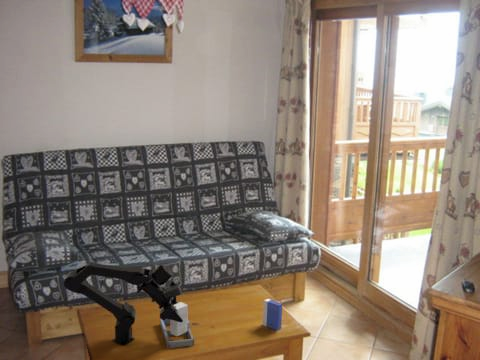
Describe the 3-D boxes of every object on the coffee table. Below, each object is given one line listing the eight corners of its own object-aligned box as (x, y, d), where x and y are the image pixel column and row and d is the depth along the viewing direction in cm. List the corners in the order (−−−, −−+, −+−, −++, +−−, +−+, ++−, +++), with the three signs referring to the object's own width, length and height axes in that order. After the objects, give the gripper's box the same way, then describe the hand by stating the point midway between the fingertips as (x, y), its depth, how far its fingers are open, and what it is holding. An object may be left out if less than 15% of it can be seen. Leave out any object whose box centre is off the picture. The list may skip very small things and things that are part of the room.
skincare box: (180, 328, 241) (180, 301, 238) (187, 331, 238) (188, 304, 236) (169, 333, 237) (169, 306, 234) (176, 337, 234) (177, 309, 231)
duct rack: (194, 345, 235) (194, 334, 234) (167, 348, 232) (167, 336, 231) (184, 321, 254) (184, 311, 253) (160, 324, 251) (160, 313, 250)
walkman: (281, 328, 252) (282, 302, 249) (277, 330, 249) (279, 304, 247) (265, 322, 256) (267, 297, 253) (262, 325, 254) (263, 299, 251)
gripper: (168, 288, 223) (197, 315, 226) (170, 269, 241) (196, 294, 244) (147, 307, 224) (176, 333, 227) (151, 287, 242) (177, 311, 245)
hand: (182, 317), depth 236 cm, fingers closed on skincare box, 7 cm apart
